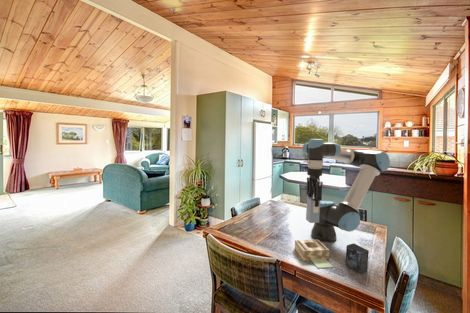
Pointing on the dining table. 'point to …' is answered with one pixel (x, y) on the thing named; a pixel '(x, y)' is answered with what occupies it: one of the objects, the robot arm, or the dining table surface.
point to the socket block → (311, 249)
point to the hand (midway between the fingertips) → (313, 210)
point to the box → (357, 258)
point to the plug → (310, 215)
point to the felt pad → (321, 263)
